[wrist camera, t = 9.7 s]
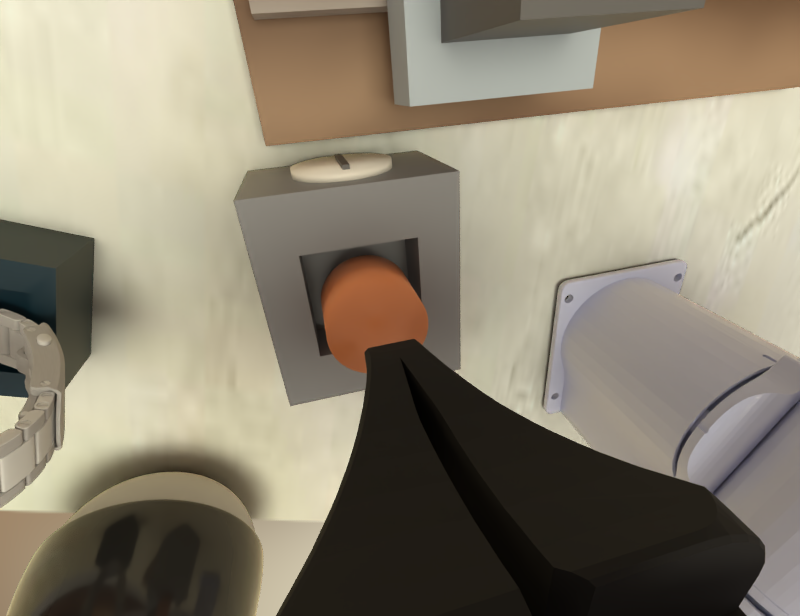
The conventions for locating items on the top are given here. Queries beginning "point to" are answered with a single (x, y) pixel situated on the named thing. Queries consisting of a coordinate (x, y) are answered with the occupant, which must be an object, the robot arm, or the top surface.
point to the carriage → (503, 45)
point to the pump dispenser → (148, 554)
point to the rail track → (613, 87)
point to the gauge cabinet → (349, 251)
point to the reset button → (369, 309)
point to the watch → (40, 341)
